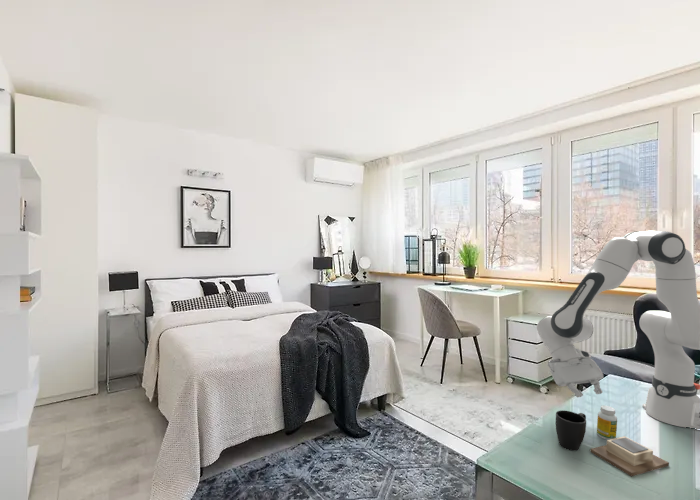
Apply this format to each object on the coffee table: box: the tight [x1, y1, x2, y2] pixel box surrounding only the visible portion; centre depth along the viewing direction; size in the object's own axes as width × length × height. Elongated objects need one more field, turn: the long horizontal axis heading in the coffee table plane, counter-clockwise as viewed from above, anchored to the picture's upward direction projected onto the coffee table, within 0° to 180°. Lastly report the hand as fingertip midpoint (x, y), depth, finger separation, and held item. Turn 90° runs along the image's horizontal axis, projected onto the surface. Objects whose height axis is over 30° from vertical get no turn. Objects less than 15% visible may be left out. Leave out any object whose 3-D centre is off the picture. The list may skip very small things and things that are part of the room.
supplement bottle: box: [596, 405, 618, 441], centre depth 123 cm, size 5×5×10 cm
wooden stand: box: [589, 435, 670, 477], centre depth 110 cm, size 16×12×4 cm
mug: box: [554, 410, 587, 452], centre depth 117 cm, size 8×12×10 cm
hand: (590, 395), depth 128 cm, fingers open, 8 cm apart
